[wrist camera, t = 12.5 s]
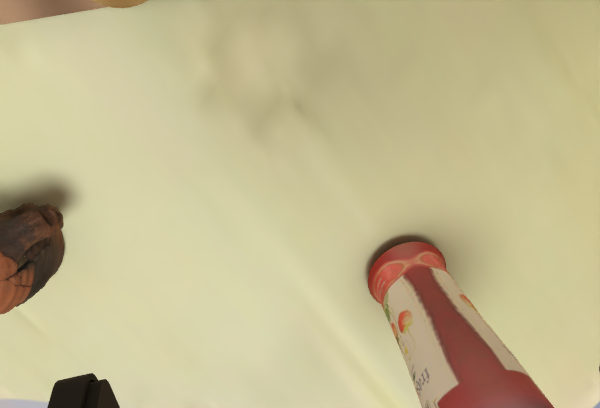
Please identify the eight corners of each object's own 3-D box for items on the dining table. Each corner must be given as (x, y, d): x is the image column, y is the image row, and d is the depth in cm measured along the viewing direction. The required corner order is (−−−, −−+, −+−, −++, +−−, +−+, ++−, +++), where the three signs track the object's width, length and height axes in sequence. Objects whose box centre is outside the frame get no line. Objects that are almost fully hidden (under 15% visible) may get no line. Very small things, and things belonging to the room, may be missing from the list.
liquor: (355, 244, 46) (535, 627, 22) (438, 221, 46) (709, 572, 22) (368, 310, 50) (535, 699, 26) (445, 287, 50) (683, 651, 26)
